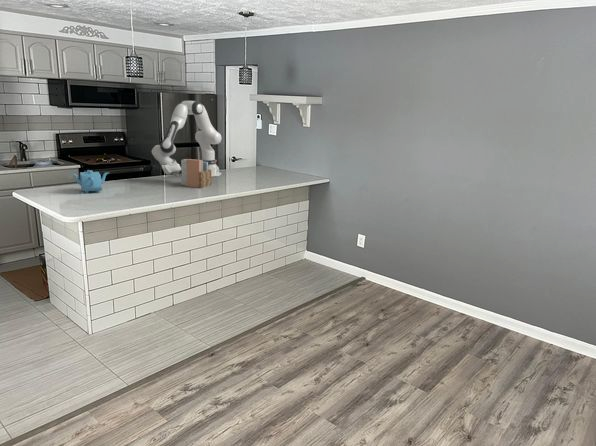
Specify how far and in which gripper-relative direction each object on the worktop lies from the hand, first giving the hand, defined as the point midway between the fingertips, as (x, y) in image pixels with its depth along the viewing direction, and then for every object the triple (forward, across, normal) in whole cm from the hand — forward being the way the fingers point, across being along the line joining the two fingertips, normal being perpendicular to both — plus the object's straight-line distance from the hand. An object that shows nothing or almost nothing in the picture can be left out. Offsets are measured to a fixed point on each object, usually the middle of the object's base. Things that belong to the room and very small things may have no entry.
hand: (178, 176), depth 353 cm
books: (+15, 0, -8) cm, 17 cm away
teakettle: (-23, -54, +32) cm, 66 cm away
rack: (+20, 0, -12) cm, 23 cm away
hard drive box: (+13, -1, -5) cm, 14 cm away
